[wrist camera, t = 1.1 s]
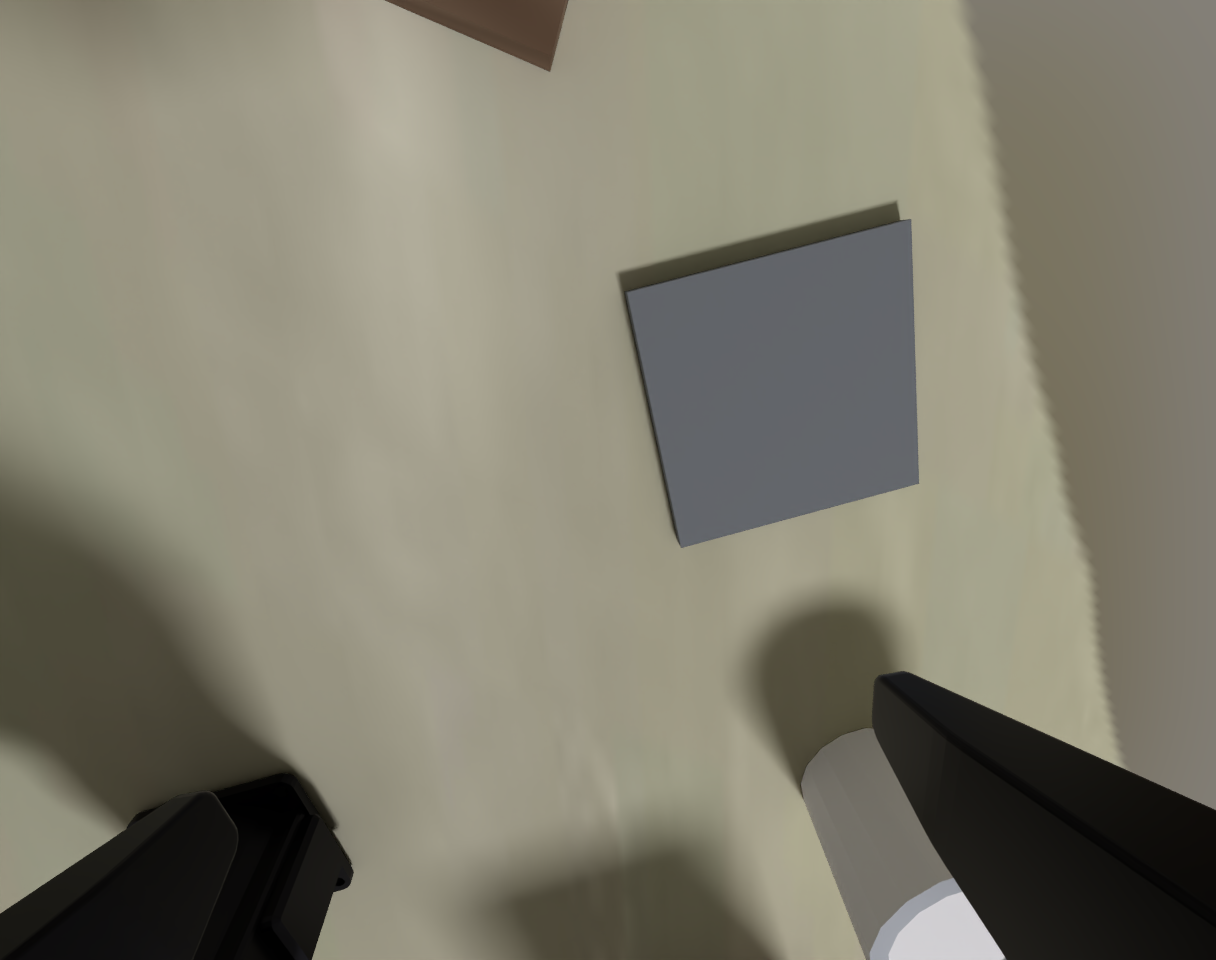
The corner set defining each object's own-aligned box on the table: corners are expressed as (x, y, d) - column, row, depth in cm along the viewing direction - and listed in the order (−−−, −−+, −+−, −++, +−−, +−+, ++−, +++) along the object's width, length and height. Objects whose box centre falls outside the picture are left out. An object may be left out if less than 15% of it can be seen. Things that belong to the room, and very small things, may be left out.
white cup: (870, 692, 25) (989, 844, 18) (956, 760, 27) (1089, 917, 20) (757, 789, 26) (832, 964, 20) (848, 847, 28) (942, 1021, 22)
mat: (677, 541, 21) (681, 548, 20) (624, 291, 18) (626, 292, 17) (910, 478, 21) (918, 483, 21) (901, 220, 18) (910, 219, 17)
